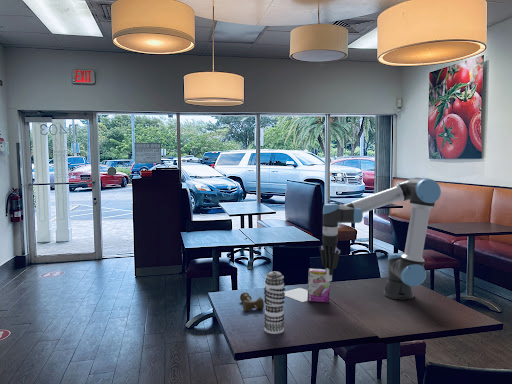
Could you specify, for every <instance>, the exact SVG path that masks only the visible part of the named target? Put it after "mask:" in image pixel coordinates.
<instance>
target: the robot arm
mask: <svg viewBox="0 0 512 384" xmlns="http://www.w3.org/2000/svg"><path fill="white" fill-rule="evenodd" d="M441 193H442V189H441V186H440V184H439V183H438V182H437V181H435V180H434V179H432V178H425V177H412V178H410V179H407V180H404V181H402V182H400V183H396V184H395V185H394V187H391V188H387V189H386V190H385V189H384V190H381V191H379V192H376V193H373V194H371V195H368V196H365V197H362V198H359V199H357V200H354V201H351V202H348V203H343V204H338V203H324V204H323V207H322V236H321V237H322V239H321V241H322V245H321V246H318V249H319V253H320V258H321V266H322V267H324V269H325V273H326V281H328V282H329V281H330V282H332V281H333V275H334V269H336V268H337V267H338V262H339V258H340V255H341V253H342V250H341V249H339V248H338V238H339V237H338V234H339V231H338V230H339V223H340V224H342V223H343V224H345V223H346V224H359V223H362V221H363V216H364V213H367V212H370V211H373V210H375V209H378V208H381V207H384V206H388V205H390V204H394V203H395V202H399V201H400V202H405V201H409V205H410V206H411V210H410V216H409V222H408V223H409V224H408V229H407V236H406V240H405V241H406V242H405V247H404V253H398V252H397V253H395V252H394V253H390V254H389V255H388V258H387V282H386V284H385V287H384V289H383V295H384V297H386V296H387V298H389V299H393V300H397V299H399V300H398V301H407V300H406V299H409V300H412V299H413V298H414V291H413V287H418V286H420V285H422V284H423V283H424V282H425V280H426V278H427V271H426V269H425V267H424V266H425V261H426V260H425V259H424V258H423V253H424V249H425V243H426V236H427V232H428V226H429V221H430V220H429V219H430V213H431V210H432V209H433V208H434V207H435V204H436V202H437V200H439V199H440V198H441ZM411 298H412V299H411Z"/></svg>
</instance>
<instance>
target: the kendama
mask: <svg viewBox="0 0 512 384" xmlns="http://www.w3.org/2000/svg"><path fill="white" fill-rule="evenodd" d="M239 296H240V297H239V299H240V301H241V303H242V308H243V312H245V313H247V312H249V310H253V309H255V310H261V311H262V310H264V307H265V302H264V299H263V298H262V297H260V296H259V297H258V298H257V299H256V300H252V297H251V295H250V294H249V293H248V292H247V291H246V292H245V291H244V292H242V293H240V295H239Z"/></svg>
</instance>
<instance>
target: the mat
mask: <svg viewBox="0 0 512 384" xmlns="http://www.w3.org/2000/svg"><path fill="white" fill-rule="evenodd" d="M283 292H284V293H285V295H283V296H284V297H285V298H286V297H287V298H289V299H292V300H295V301H297V302H300V303H306V302H309V301H308V299H307V296H308V289H304V288H302V287H297V288H294V289H290V290H285V291H283Z"/></svg>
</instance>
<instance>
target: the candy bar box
mask: <svg viewBox="0 0 512 384" xmlns="http://www.w3.org/2000/svg"><path fill="white" fill-rule="evenodd" d="M325 270H326V268H324V269H322V268H308V279H307V280H308V281H307V283H308V284H307V290H308V296H307V299H308V301H307V302H313V303H330V302H329V301H330V289H331V287H330V285H331V281H329V282H328V281H326V273H325Z"/></svg>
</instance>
